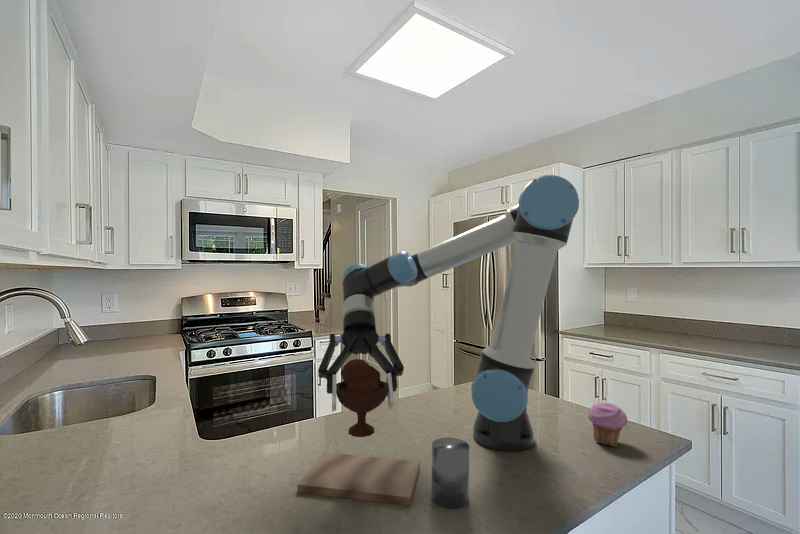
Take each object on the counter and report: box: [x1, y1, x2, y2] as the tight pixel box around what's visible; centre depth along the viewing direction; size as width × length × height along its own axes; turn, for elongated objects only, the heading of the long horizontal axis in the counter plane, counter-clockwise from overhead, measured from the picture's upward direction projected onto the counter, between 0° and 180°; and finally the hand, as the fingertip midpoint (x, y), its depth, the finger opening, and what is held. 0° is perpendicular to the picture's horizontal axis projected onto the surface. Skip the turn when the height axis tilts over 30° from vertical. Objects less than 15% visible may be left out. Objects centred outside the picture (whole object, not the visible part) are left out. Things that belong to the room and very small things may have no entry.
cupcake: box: [587, 402, 628, 448], centre depth 101 cm, size 9×9×10 cm
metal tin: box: [430, 436, 470, 510], centre depth 76 cm, size 7×7×10 cm
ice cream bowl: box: [336, 358, 388, 438], centre depth 82 cm, size 11×11×15 cm
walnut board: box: [296, 451, 421, 507], centre depth 82 cm, size 22×14×2 cm, turn 80°
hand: (363, 406), depth 79 cm, fingers closed on ice cream bowl, 11 cm apart
